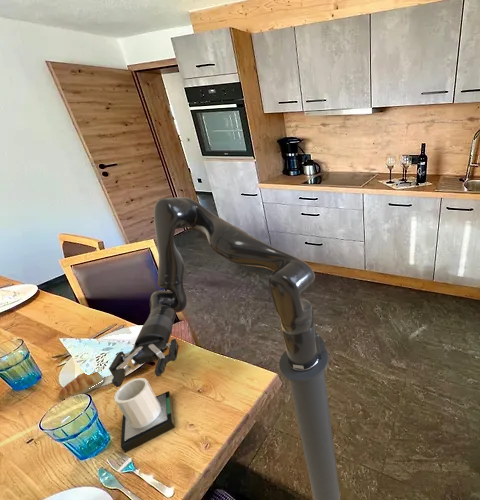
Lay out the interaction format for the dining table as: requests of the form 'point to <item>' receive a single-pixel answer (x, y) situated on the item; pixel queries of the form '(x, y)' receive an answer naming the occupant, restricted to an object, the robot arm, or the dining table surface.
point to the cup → (138, 402)
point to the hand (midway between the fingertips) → (137, 379)
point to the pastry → (81, 385)
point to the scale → (149, 425)
